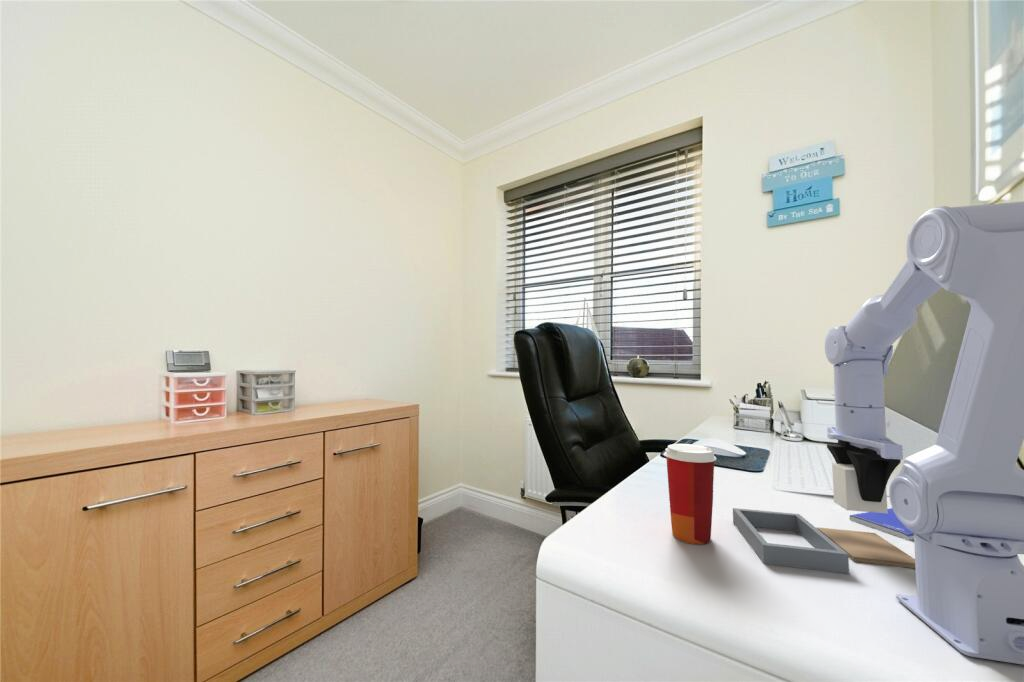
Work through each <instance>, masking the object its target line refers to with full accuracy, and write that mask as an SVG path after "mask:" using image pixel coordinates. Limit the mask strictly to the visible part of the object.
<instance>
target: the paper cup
mask: <svg viewBox="0 0 1024 682" xmlns="http://www.w3.org/2000/svg"><path fill="white" fill-rule="evenodd" d="M663 456H664V457H666V469H667V485H668V497H669V499H668V501H669V512H670V521H671V524H670V525H671V532H672V536H673V537H674V538H675V539H677V540H679V541H681V542H683V543H687V544H691V545H707V544H709V543H710V542H711V538H712V526H713V525H712V524H713V523H712V522H713V505H714V475H715V462H716V461H717V457H716V456H715V454H714V451H713V450H712V449H711V448H710V447H707V446H704V445H700V444H698V445H697V444H690V443H672V444H668V445H667V448H665V452H664V453H663Z"/></svg>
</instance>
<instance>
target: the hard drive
mask: <svg viewBox="0 0 1024 682" xmlns="http://www.w3.org/2000/svg"><path fill="white" fill-rule="evenodd" d="M887 511H888V513H876V512H861V513H856V514H850V515H849V518H848V519H849V521H851V522H854V523H857V524H860V525H863V526H866V527H868V528H872V529H874V530H878V531H881V532H883V533H886V534H889V535H892V536H895V537H898V538H900V539H904V540H907V541H911V540H914V532H912V531H910V530H909V529H907V528H906V527H905V526H904V525H903V523H902V522H901V521H900V520H899V519H898V518H897V516H896V515H895V513H894V511H893V509H892V507H890V508H887Z"/></svg>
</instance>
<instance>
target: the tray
mask: <svg viewBox="0 0 1024 682" xmlns="http://www.w3.org/2000/svg"><path fill="white" fill-rule="evenodd" d="M732 523H733V524H734V526H735V527H736V529H737V530H738V531H739V532H740V533H741V535H742V536H743V538H744V539H745V540H746V541H747V544H749V546H750V547H751V549H752V550H753V552H754V553H755V554H756V555H757V556H758V558H759V559H760V561H762V563H763V564H764V565H765V564H767V565H775V566H783V567H791V568H800V569H807V570H816V571H822V572H823V571H824V572H831V573H840V574H841V573H842V574H850V562H849V559H850V558H849V557H848V554H847V553H846V552H845V551H844V550H842V549H841V548H840V547H839V546H838V545H836V544H835V543H834V542H833V541H831V540H830V539H829V538H828V537H827V536H825V535H824V534H823V533H822V532H820V531H819V530H818V529H817V527H816V526H814V525H813V524H812V523H810V521H808V520H807V519H806V518H805V517H803V516H802V515H801V514H800V513H793V512H792V513H791V512H780V511H772V510H771V511H769V510H759V509H747V508H736V507H733V508H732ZM755 527H756V528H766V529H774V530H784V531H786V530H787V531H794V532H797V534H799V535H800V536H801V537H802V538H803V539H804V540H806V541H807V543H809V544H810V545H811V546H812V547H806V546H798V545H789V544H780V543H771V542H767V541H766V539H765V538H764V537H763V536H762V535H761V534H760V532H759V531H758V530H757V529H756V528H755Z"/></svg>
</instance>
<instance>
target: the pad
mask: <svg viewBox="0 0 1024 682" xmlns="http://www.w3.org/2000/svg"><path fill="white" fill-rule="evenodd" d="M816 528H817V529H818V530H819V531H820V532H822V533H823V534H824V535H825V536H827V537H828V538H829V539H830V540H831V541H833V542H834V543H835V544H836V545H838V546H839V547H840V548H841V549H842V550H844V551H845V552H846V553H847V554H848V557H849V559H850V560H851V561H853V562H858V563H865V564H866V563H867V564H875V565H882V566H883V565H885V566H893V567H901V568H909V569H910V568H911V569H916V567H915V557H913V556H910V555H909V554H908V553H906V552H905V551H904V550H902V549H900V548H899V547H897V546H896V545H894V544H893V543H891V542H889V541H888V540H887V539H885V538H883V537H881V536H880V535H879V534H878V533H876V532H869V531H868V532H867V531H859V530H858V531H857V530H848V529H837V528H828V527H827V528H825V527H818V526H817V527H816Z"/></svg>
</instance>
